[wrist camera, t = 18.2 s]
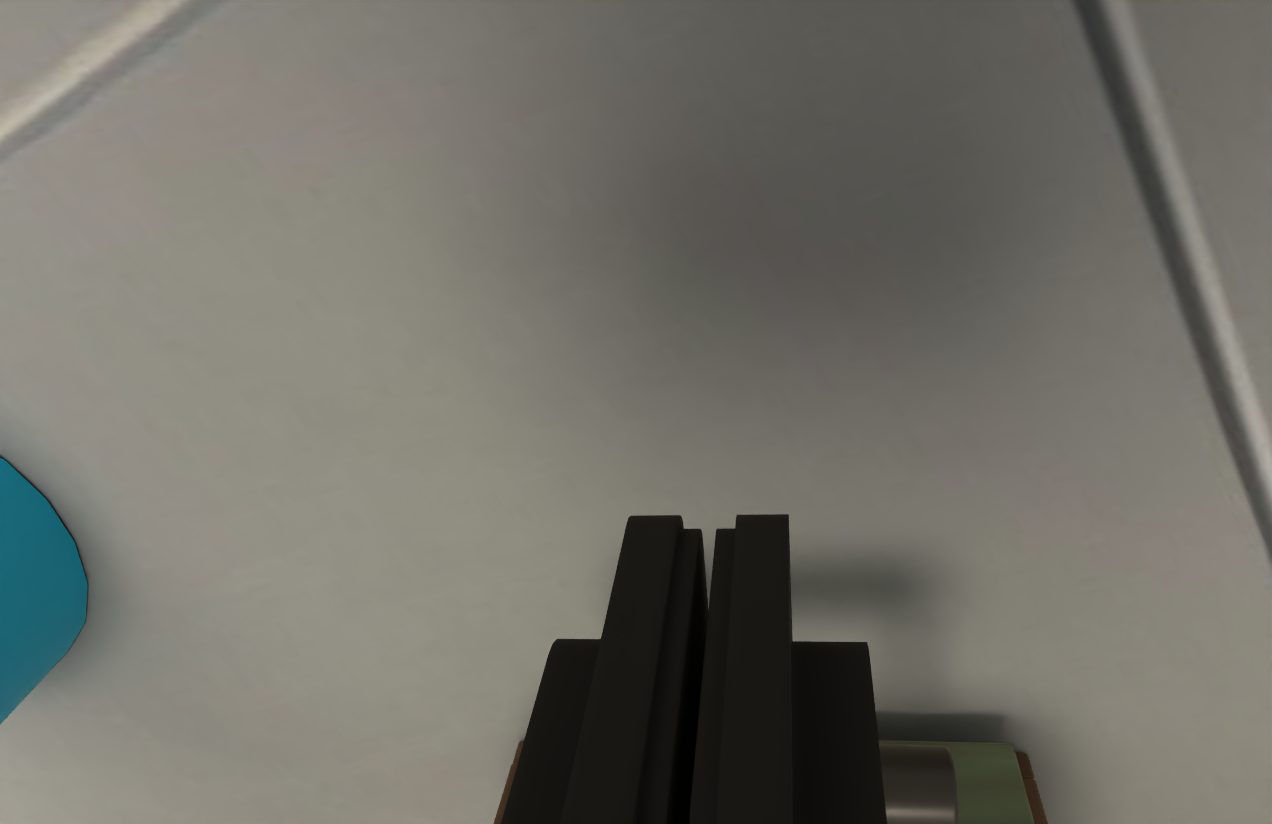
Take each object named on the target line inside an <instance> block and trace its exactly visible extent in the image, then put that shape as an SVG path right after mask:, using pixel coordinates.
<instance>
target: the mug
mask: <svg viewBox="0 0 1272 824" xmlns="http://www.w3.org/2000/svg"><path fill="white" fill-rule="evenodd" d="M87 590H88V583H87V580H86V577H85V573H84V570H83V567H82V564H81V561H80V557H79V554H78V551H77V548H76V545H75V542H74V540H73V539H72V537H71V536H70V534H69V533H68V531H67V530H66V528H65V527H64V525H63V524H62V522H61V520H60V519H59V517H58V516H57V514H56V513H55V511H54V510H53V508H52V507H51V505H50V504H49V502H48V501H47V499H46V498H45V497H44V496H42V495H41V494H40V493H39V492H38V491H37V490H36V489H35V488H34V487H33V486H32V485H31V484H30V483H29V482H28V481H27V480H26V479H25V478H23V477H22V476H21V475H20V474H19V473H18V472H17V471H16V470H15V469H14V468H13V467H12V466H11V465H10V464H9V463H8V462H7V461H5V460H4V459H2V458H0V724H1V723H2V722H3V721H4V720H5V719H6V718H7V717H8V716H9V714H10V713H11V712H12V711H13V710H14V709H15V708H16V707H17V706H18V705H19V704H20V703H21V701H22V700H23V699H24V698H25V697H26V696H27V695H28V694H29V693H30V692H31V691H32V690H33V689H34V687H35V686H36V685H37V684H38V683H39V682H40V681H41V680H42V679H43V678H44V677H45V676H46V675H47V673H48V672H49V671H50V670H51V669H52V668H53V667H54V666H55V665H56V664H57V663H58V662H59V661H60V659H61V658H62V657H63V656H64V655H65V654H66V653H67V652H68V651H69V649H70V648H71V646H72V644H73V642H74V641H75V639H76V637H77V635H78V634H79V632H80V630H81V628H82V627H83V625H84V623H85V621H86V606H87Z"/></svg>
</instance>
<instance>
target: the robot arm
mask: <svg viewBox="0 0 1272 824" xmlns="http://www.w3.org/2000/svg"><path fill="white" fill-rule="evenodd" d="M501 824H887V816H886V807H885V797H884V788H883V778H882V769H881V759H880V750H879V741H878V731H877V722H876V712H875V703H874V693H873V684H872V674H871V665H870V656H869V649H868V644H867V642H793V641H792V610H791V577H790V543H789V515H788V514H781V515H737V517H736V528H735V529H717V530H716V537H715V548H714V559H713V569H712V580H711V591H710V601H709V611H708V598H707V586H706V573H705V561H704V548H703V537H702V531H701V529H684V527H683V521H682V517H681V516H680V515H660V516H630V517H629V518H628V521H627V525H626V529H625V534H624V538H623V543H622V547H621V552H620V556H619V561H618V565H617V570H616V574H615V579H614V583H613V588H612V592H611V597H610V601H609V606H608V610H607V615H606V619H605V624H604V628H603V633H602V637H601V639H557V640H556V641H555V642H554V643H553V644H552V647H551V650H550V652H549V655H548V658H547V662H546V665H545V669H544V672H543V676H542V680H541V683H540V687H539V690H538V694H537V697H536V701H535V704H534V708H533V711H532V715H531V718H530V722H529V726H528V729H527V733H526V736H525V740H524V743H523V747H522V750H521V754H520V757H519V761H518V765H517V768H516V772H515V775H514V779H513V782H512V786H511V789H510V793H509V796H508V800H507V803H506V807H505V811H504V814H503V818H502V821H501Z"/></svg>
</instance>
